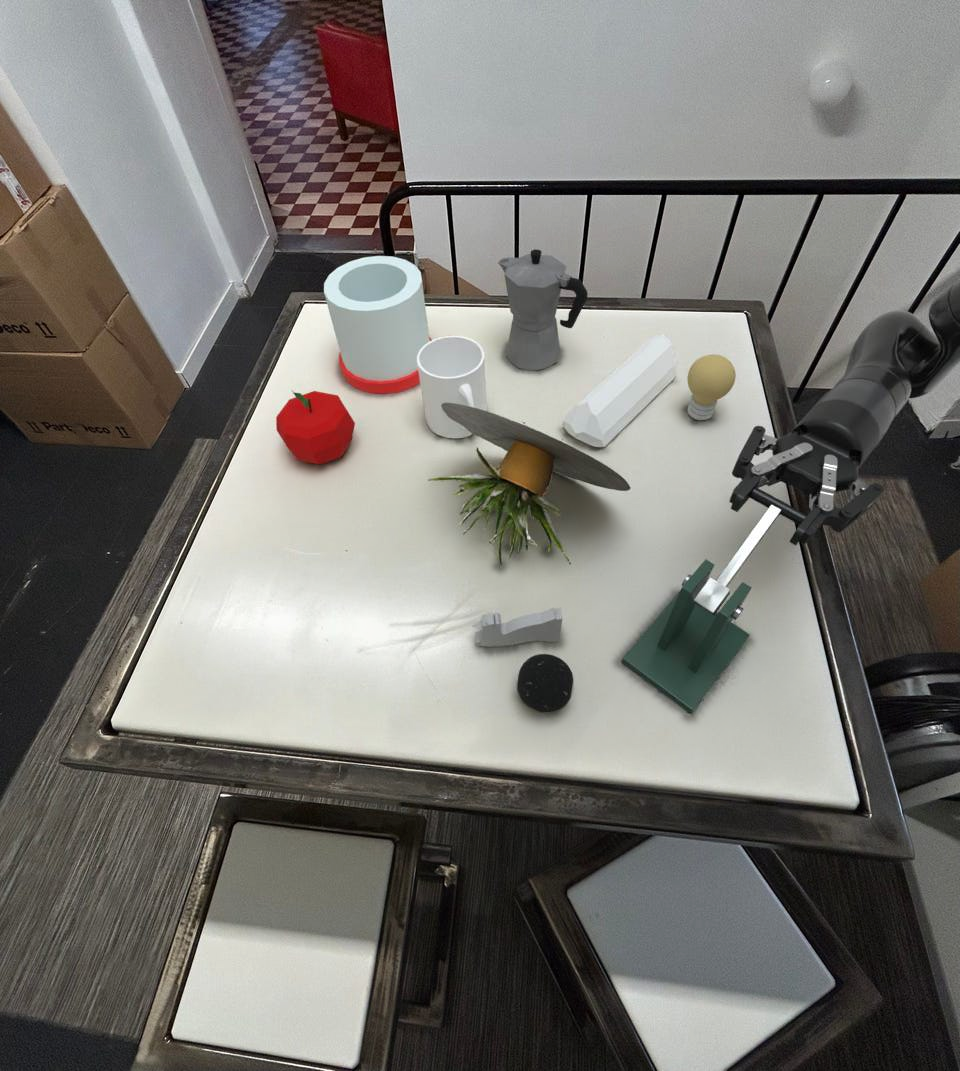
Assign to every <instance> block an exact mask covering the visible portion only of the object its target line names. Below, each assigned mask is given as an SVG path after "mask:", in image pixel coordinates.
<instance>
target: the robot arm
mask: <svg viewBox="0 0 960 1071" xmlns="http://www.w3.org/2000/svg"><path fill="white" fill-rule="evenodd" d="M928 320H929V324H930V327H931V329H929V327H927V325H926V324H924V323H923V321H921V320H920V319H919V318H918V316H916V315H915V314H914V313H912V312H909V311H906V310H891V311H888V312H885V313H883V314H881V315H879V316H877V317H876V318H875V319H873V320H872V321H870V323H868V325H866V326H865V328H864V329H863V330H862V331H861V332H860V334H859V335H858V337H857V339H856V340H855V342H854V344H853V345H852V349H851V351H850V353H849V357H848V362H847V365H846V369H845V372H844V375H843V376H841V378H840V379H839V380H838V381H837V383H836V384H835V385H834V386H833V387H832V389H830V390H829V391H827V392H826V393H825V394H823V396H822V397H821V398H819V400H818V401H816V403H815V404H814V406H812V408H811V409H809V411H808V412H807V413H806V414H805V415H804V416H803V417H802V418H801V420H800V421H799V422H798V424H796V425H795V427H794V428H793V429H792V430H791V431H790V432H789V433H788V434H786V435H782V436H780V437H778V438H776V437H774V436H771V435H767V434H766V432H767V431H766V428H765V427H764V426H762V425H755V426H754V427H753V429H752V431H751V433H750V434H749V436H748V438H747V439H746V442H744V443H745V444H744V445H743V448H742V449H741V451H740V453H739V455H738V457H737V459H736V461H735V464H734V466H733V469H732V471H731V475H732V477H734V478H737V479H741V481H739V483H738V484H737V485H736V486H735V487H734V488H733V491H732V492H731V495H730V497H729V501H728V502H729V503H730V504H732V505H731V507H730V510H732V511H734V512H736V513H739V511H740V510H741V509H742V508H743V506H744V505H745V504H746V503H747V502H748V501H749V499H750V498H749V495H750V493H751V492H752V490H753V489H754V488H755V487H757V488H759V489H760V488H762V487H765V486H767V487H771V486H773V485H776V484H778V483H783V484H786V485H787V486H790V487H793V488H796V489H797V490H798V491H800V492H801V493H802V494H805V495H806V496H809V501H808V508H809V509H810V511H809V512H808V514H807V517H806V518H805V519H804V520H803V522H802V523H801V524H800V525H798V527H797V528H796V530H795V531H794V533H792V536H791V537H790V539H789V541H788V542H789V543H790V544H792V545H793V546H796V547H797V545H798V544H799V543H801V544H803V545H806V544H807V543H809V542H810V540H811V539H812V538H813V536H814V535H815V534H816V533H817V531H818V530H819V529H820V527H822V526H828V527H830V529H831V530H832V531H834V532H837V533H842V532H843V531H845V530H846V529H848V528H849V526H851V525H852V524H854V523H855V522H856V521H857V520H858V519H859V518H860V517H862V516H863V515H864V514H866V513H867V512H868V511H869V510H870V509H872V508H873V506H874V505H875V504H876V502H877V501H878V500H879V498H880V497H881V496H882V494H883V493H884V492H885V487H884V486H883V485H882V484H881V483H878V482H877V483H876V482H875V483H874V482H873V483H872V484H870V485H869V484H868V483H866V482H865V481H863V480H861V479H860V478H859V469H860V468H861V467H862V465H863V464H864V463H865V461H866V460H867V459H868V457H869V456H870V455H871V454H872V453H873V451H874V450H875V449H877V447H879V445H880V443H881V440H882V439H883V438H884V437H885V435H886V433H887V432H888V430H889V429H890V426H891V424H892V422H893V421H894V419H895V418H896V417H897V416H898V414H899V413H900V412H901V410H903V408H904V407H905V405H906V404H907V402H908V401H909V399H916V398H920V397H923V396H926V395H927V394H929V393H930V392H932V391H933V390H934V389H936V388H937V387H938V386H939V385H941V383H942V382H943V381H944V380H945V379H946V378H947V377H948V376H949V375H950V374H951V373H952V372H953V371H954V370H955V369H956V368H957V367H958V366H959V365H960V279H958V280H957V281H956V282H955V283H953V284H952V285H950V286H948V287H947V288H946V289H944V290H943V291H942V292H941V293H939V294H938V295H937V296H936V297H935V298H934V299H933V301H932V302H931V304H930V306H929V309H928ZM766 451H771V453H772V456H771V457H769V458H768V459H767V460H766V461H763V462H760V463H758V464H754V463H753V462H752V461H753V459H754V457H755V456H760V454H765V452H766ZM848 490H850V492H851V494H850V495H849V499H850V501H849V502H848V503H847V504H845V505H844V506H842V507H841V508H839V507H836V506H835V505H834V504H835V503H834V499H835V493H839V492H844V491H848Z"/></svg>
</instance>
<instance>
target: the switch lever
mask: <svg viewBox="0 0 960 1071" xmlns="http://www.w3.org/2000/svg"><path fill="white" fill-rule="evenodd" d="M749 499H751V500H753V501H754V502H757V503H758V504H760V505H762V506H764V507H765V508H767V509H766V511H764V514H763V515H762V516H761V517H760V519H759V520H758V522H757V523H756V524H755V526H754V527H753V529H752V530H751V531H750V533H749V534H748V535H747V537H746V538H745V540H744V541H743V542H742V543H741V545H740V546H739V548H738V549H737V551H736V552H735V554H734V555H733V556H732V558H731V559H730V560H729V562H728V563H727V564H726V566H725V567H724V569H723V570H722V571H721V573H720V574H719V575H718V577H717V578H716V579H714V578H713V577H711V576H709V577H708V580H707V582H706V583H705V585H704V586H703V587H702V589H701V590H700V592H699V593H698V594H697V596H696V597H695V598H694V603H695V604H696V605H697V606H699V607H700V608H702V609H703V610H705V611H706V612H708V613H709V614H711V615H712V616H714V615H715V614H716V613H718V612H719V611H720V609H721V608H722V607H723V605H724V604H725V601H727V600H728V597H729V596H730V595H731V589H730V588H729V585H730V584H731V582H732V581H733V580H734V578H735V576H737V574H738V572H739V571H740V570H741V568H742V567H743V566H744V564H745V563H746V561H748V559H749V557H750V556H751V555H752V553H753V552H754V550H755V549H756V548H757V546H758V545H759V544H760V542H761V541H762V540H763V538H764V537H765V536H766V534H767V532H768V531H769V530H770V528H771V527H772V526H773V524H774V523H775V521H776V520H777V519H778V518H779V516H782V517H784V518H786V519H788V520H789V521H791V522H793V523H795V524H797V525H798V526H800V524H801V523H802V522H803V520H804V519H805V518H806V517H807V515H808V514H807V513H805V512H803V511H802V510H800V509H798V508H796V507H794V506H792V505H790V504H789V503H786V502H785V501H783V500H781V499H779V498H777V497H775V496H773V495H772V494H770V493H768V492H766V491H764V490H763V489H760V488H757V487H755V488H754V489H753V490H752V492H751V493H750V495H749Z"/></svg>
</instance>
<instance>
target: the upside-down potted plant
mask: <svg viewBox="0 0 960 1071" xmlns="http://www.w3.org/2000/svg"><path fill="white" fill-rule="evenodd" d="M441 407H442V409H443V411H444V412H445V413H446V415H447V416H448V417H449V418H450V419H452V420H453V421H455V422H457V423H459V424H460V425H462V426H463V427H465V428H466V429H467V430H468V431H469V432H471V433H472V435H473V436H476V437H480V438H481V439H483V440H484V441H487V442H488V443H491V444H492V445H494V446H496V447H498V448H501V449H502V450H504V451H505V452H506V453H505V454H504V456H503V458H502V460H501V462H500V463H499V465H498V467H497V468H496V467H494V466H493V465H492V464H491V463H490V462H489V461H488V460H487V459H486V457H485V456H484V455H483V454H482V452H481V451H480V449H479V447H477V446H476V450H475V452H476V454H477V456H478V459H479V460H480V462H481V464H482V465H483V466H484V467H485V469H486V470H487V471H488V473H490V474H485V473H468V474H455V475H450V476H444V477H443V476H442V477H441V476H440V477H434V478H428V479H427V481H428V482H433V481H434V482H437V481H440V482H443V481H455V482H466V483H464V484H460V485H459V486H458V488H459V489H460V490H458V491H457V492H456V493H454V494H453V497H454V498H455V497H458V496H461V495H463V494H464V493H467V492H469V491H471V490H472V491H473V490H474V489H478V488H481V489H479V490H477V492H475V493H474V494H473V495H472V496H471V497H470V498H469V499H467V500H466V501H465V502H464V503H463V505H462V506H461V510H460V511H459V515H463V514H464V513H466V515H465V516H464V517H463V518H462V519H461V521H460V522H459V526H462V525H463V524H464V523H465V521H467V519H468V518H469V517H471V516H472V515H473V514H474V513H475V512H476V511H477V510H479V509H480V510H479V513H478V514H477V515H476V517H475V518H474V519H473V522H472V523H471V524H470V525H469V526H468V528H466V529H464V530H463V532H462V536H465V535H466V533H467V532H468V531H469V530H470V529H471V528H472V527H473V526H474V525H475V524H476V522H478V520H479V519H480V518H481V516H483V515H486V519H485V526H484V528H483V530H486V529H487V527H488V523H489V521H490V516H491V514H492V511H494V510H496V516H495V522H494V523H495V524H494V532H493V536H492V538H491V539H489V541H488V542H489V545H491V547H492V548H494V547H495V545H496V543H498V546H497V548H498V549H497V554H498V563H499V566H500V567H502V566H503V561H502V559H503V558H502V544H503V542H502V541H504V535H505V531H506V530H507V529H508V528H510V540H509V548H510V550H509V554H508V560H511V557H512V555H513V552H514V550H515V547H516V546H517V543H518V548H517V554H518V555H519V554H520V552H521V550H522V548H523V543H524V542H525V543H524V549H525V551H527V552H528V551H529V545H528V543H530V544H531V545H533V546H535V547H538V544H537V543H536V542H535V540H534V539H533V538H532V536H530V534H529V531H528V530H529V525H528V523H529V522H528V521H529V519H528V517H527V514H528V511H529V516H530V517H531V518H533V520H534V521H537V522H539V524H540V526H541V528H542V529H543V531H544V533H545V535H546V538H547V540H548V542H549V543H548V548H547V553H550V551H551V549H552V546H553V543H554V544H555V546H556V548H558V550H559V551H560V552H561V553H562V555H563V557H564V559H565V560H566V561H567V562H568V565H572V562H571V561H570V559H569V558H568V556H567V555H566V553H565V550H564V548H563V545H562V543H561V541H560V538H559V535H558V533H557V532H556V529H555V526H554V524H553V522H552V519H551V517H550V514H549V513H548V512H547V511H546V509H547V510H549V511H550V512H553V513H555V514H556V515H557V516H559V517H560V516H562V514H561V510H560V509H559V508H558V507H556V506H555V505H554V504H553V503H552V502H550V501H549V500H546V499H545V498H544V497H543V496H544V495H545V494H546V492H547V491H548V488H549V486H550V485H551V481H552V477H553V472H554V473H557V474H560V475H562V476H563V477H566V478H569V479H572V480H575V481H579V482H582V483H586V484H588V485H592V486H594V487H598V488H603V489H608V490H613V491H620V492H627V491H630V490H631V485H630V483H629V482H628V481H627V480H626V479H625V478H624V477H623V476H622V475H621V474H619V473H618V472H617V471H615V470H614V469H612V468H611V467H610V466H608V465H606V464H604V462H602V461H599V460H598V459H596V458H595V457H592V456H591V455H589V454H587V453H585V452H583V451H581V450H579V449H578V448H576V447H573V446H572V445H570V444H567V443H565V442H563V440H564V438H561V440H562V441H561V440H560V439H557V438H555V437H552V436H550V435H548V434H546V433H543V432H542V431H540V430H537V429H535V428H533V427H530V426H528V425H526V422H523V421H521V422H522V423H520V422H517V421H515V420H511V419H509V418H507V417H504V416H501V415H499V414H496V413H494V412H490V411H488V410H487V411H484V410H481V409H478V408H473V407H469V406H465V405H461V404H455V403H443V404H442V405H441ZM482 487H483V488H482ZM471 508H472V509H471ZM470 509H471V511H470ZM503 512H504V513H505V512H506V515H505V517H504V520H503V524H502V527H501V528H500V524H501V520H502V517H503ZM499 528H500V530H499ZM497 538H498V542H497V541H496V540H497ZM518 539H519V542H518Z"/></svg>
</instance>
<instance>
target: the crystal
mask: <svg viewBox="0 0 960 1071" xmlns="http://www.w3.org/2000/svg"><path fill="white" fill-rule="evenodd" d="M678 363H679V362H678V358H677V356H676V352H675V348H674V344H673V343H672V342H671V341H670V340H669V339H668V338H667V337H666V336H665V335H664V334H663V333H660V334H654V335H652V336H651V337H650V338H648V340H647V341H646V342H644V343H643V344H642V345H640V347H639V348H638V349H637V350H635V352H633V353H632V354H631V355H630V356H629V357H628V358H627V359H626V360H624V361H623V362H622V363H621V364H619V366H618V367H617V368H616V369H614V371H612V372H611V373H610V374H609V375H608V376H607V377H605V378H604V379H603V380H602V381H601V382H600V383H599V384H598V385H597V386H595V387H594V388H593V389H592V390H591V391H590V392H589V393H588V394H586V396H585V397H583V398H582V399H581V400H580V401H579V402H578V403H577V404H576V405H575V406H574V407H572V409H571V410H569V411H568V412H567V413H566V414H565V416H564V417H563V419H562V426H563V427H564V429H565V430H566V432H567V434H569V435H570V436H572V437H573V438H575V439H577V440H579V441H581V442H582V443H585V444H587V445H589V446H592V447H593V448H605V447H606V446H608V444H609V443H611V441H612V440H613V439H614V438H615V437H616V436H617V435H618V434H619V433H620V432H621V431H622V430H623V429H624V428H625V427H626V426H628V424H630V422H632V420H633V419H634V418H636V416H638V415H639V413H641V412H642V411H643V410H644V409H645V407H647V406H648V405H649V404H650V403H651V402H652V401H653V400H654V399H655V398H656V397H657V396H658V395H659V394H660V393H661V392H662V391H663V390H664V389H665V388H666V387H667V386H668V385H669V384H670V383H671V382H672V381H673V380H674V379H675V377H676V373H677V369H678V365H679V364H678Z"/></svg>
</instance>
